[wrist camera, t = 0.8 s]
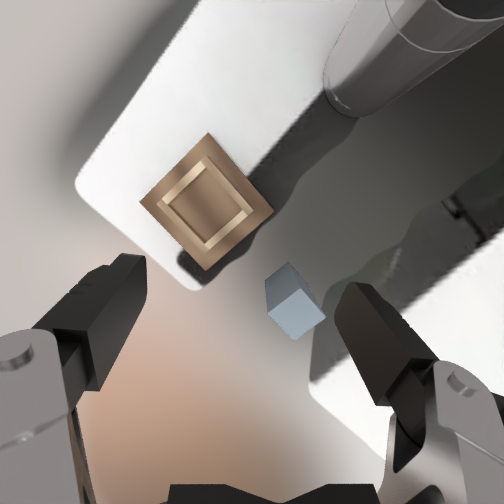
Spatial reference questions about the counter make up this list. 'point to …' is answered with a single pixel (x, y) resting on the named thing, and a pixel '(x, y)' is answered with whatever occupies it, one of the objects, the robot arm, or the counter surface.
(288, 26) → the counter surface
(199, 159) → the base board
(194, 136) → the counter surface
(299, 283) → the post block
